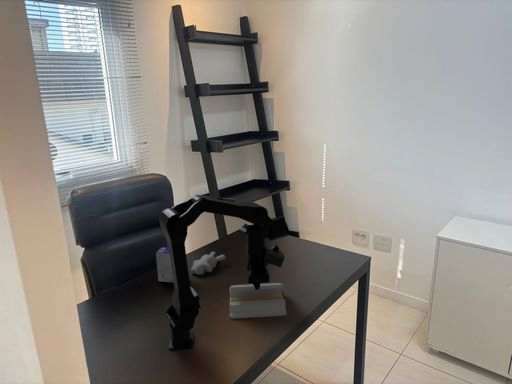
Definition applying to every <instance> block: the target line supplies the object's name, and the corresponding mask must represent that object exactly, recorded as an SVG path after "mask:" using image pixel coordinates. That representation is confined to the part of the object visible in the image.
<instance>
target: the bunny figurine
mask: <svg viewBox="0 0 512 384" xmlns="http://www.w3.org/2000/svg"><path fill="white" fill-rule="evenodd" d="M215 255H216V252H215V251H211V252H210V254H207V253H206V254H204V255H202V256H201V258H200V259H197V260H193V262H192V263H193V264H192V267H191V268H190V273H193V274H195V275H200V276H202V275H203V276H204V274H205V273H207V272H208V273H211V272H213V269H214V268H216V266H217V263H218V262H220V261H223V260H226V256H225V254H221V255H218V256H216V257H215Z"/></svg>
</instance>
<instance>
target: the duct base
mask: <svg viewBox="0 0 512 384" xmlns="http://www.w3.org/2000/svg"><path fill="white" fill-rule="evenodd" d="M280 316H281V317H282V316H287V310H286V299H285V298H283V288H273V289H259V290H256V289H255V290H236V291H231V289H230V288H229V319H246V318H251V319H252V318H265V317H280Z"/></svg>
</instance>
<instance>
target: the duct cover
mask: <svg viewBox="0 0 512 384" xmlns="http://www.w3.org/2000/svg"><path fill="white" fill-rule="evenodd" d="M273 288H282V289H284V284H282V283H281V282H274V283H273V282H272V283H270V282H268V283H261V284H260V288H259V289H273ZM230 289H231V291H236V290H255V287H254V285H253V284H250V283H249V284H236V285H235V284H234V285H230V287H229V290H230Z"/></svg>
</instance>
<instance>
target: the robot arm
mask: <svg viewBox="0 0 512 384" xmlns="http://www.w3.org/2000/svg"><path fill="white" fill-rule="evenodd" d="M203 213H210V214H215V215H221V216H226V217H233V218H238V219H241V220H243V221H245V223H244V224H243V226H241V227H240V228H239V231H240V232H242V233H243V234H245V235H246V250H245V260H246V261H247V262H246V263H247V265H246V269H247V271H246V272H247V282H248V284H249V285H250V284H253V285H254V287H255V289H256V290H259V288H260V284H269V283H270V280H271V279H270V271H269V270H268V269H267V266H269V265H268V264H270V265H273V266H276V267H278V268H281V267H282V266H283V263H284V261H285V258H286V257H285V255H284V253H283V251H282V250H280V246H279V245H277V244H273V245H272V246H271V247H269V248H267V244H266V242H267V241H266V239H267V240H268V241H269V242H270V241H276V240H278V239H284V238H286V237H288V236H289V233H290V228H289V226H288V224H287V222H286V220H285V219H286V218H285V217H284V216H282V215H279V216H276V217H273V218H271V217H270V216H269V211H268V209H267V207H265V206H263V205H260V204H259V203H256V202H253V201H243V202H234V201H233V202H232V201H228V200H223V199H217V198H212V197H208V196H207V197H206V196H204V195H203V196H202V195H201V194H195V195H193V196H191V197H190V198H188V199H187V200H183V201H181V202H179V203H177V204H175V205H173V206H172V207H171V208H169V207H168V208H166V209H164V210H162V212H161V213H160V214H159V216H158V222H159V225H160V229H161V230H162V233H163V236H164V237H165V240H166V243H168V247H169V253H170V260H171V267H172V273H173V280H174V283H173V286H174V289H173V292H172V297H171V305H170V306H169V307H168V309H167V310H166V311H165V313H164V314H165V317H166V318H167V320H168V321H169V331H170V339H169V344H168V350H171V351H172V350H183V349H184V350H185V349H192V348H193V342H194V335H195V334H194V332H192V331H191V330H192V329H193V328H194V325H195V321H196V318H197V317H198V316H199V313H200V309H202V307H201V304H200V295H199V294H198V292H197V291H196V290H195V289H194V288H193V286H191V281H190V274H189V273H190V272H189V267H188V257H187V251H186V250H187V249H186V245H185V244H186V240H187V237H188V227H190V226H191V225H193V224H194V223H195V222H196V221H197V220H198V218H199V217H200V216H201V215H202V214H203ZM246 222H248V223H250V224H248V223H246Z"/></svg>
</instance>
